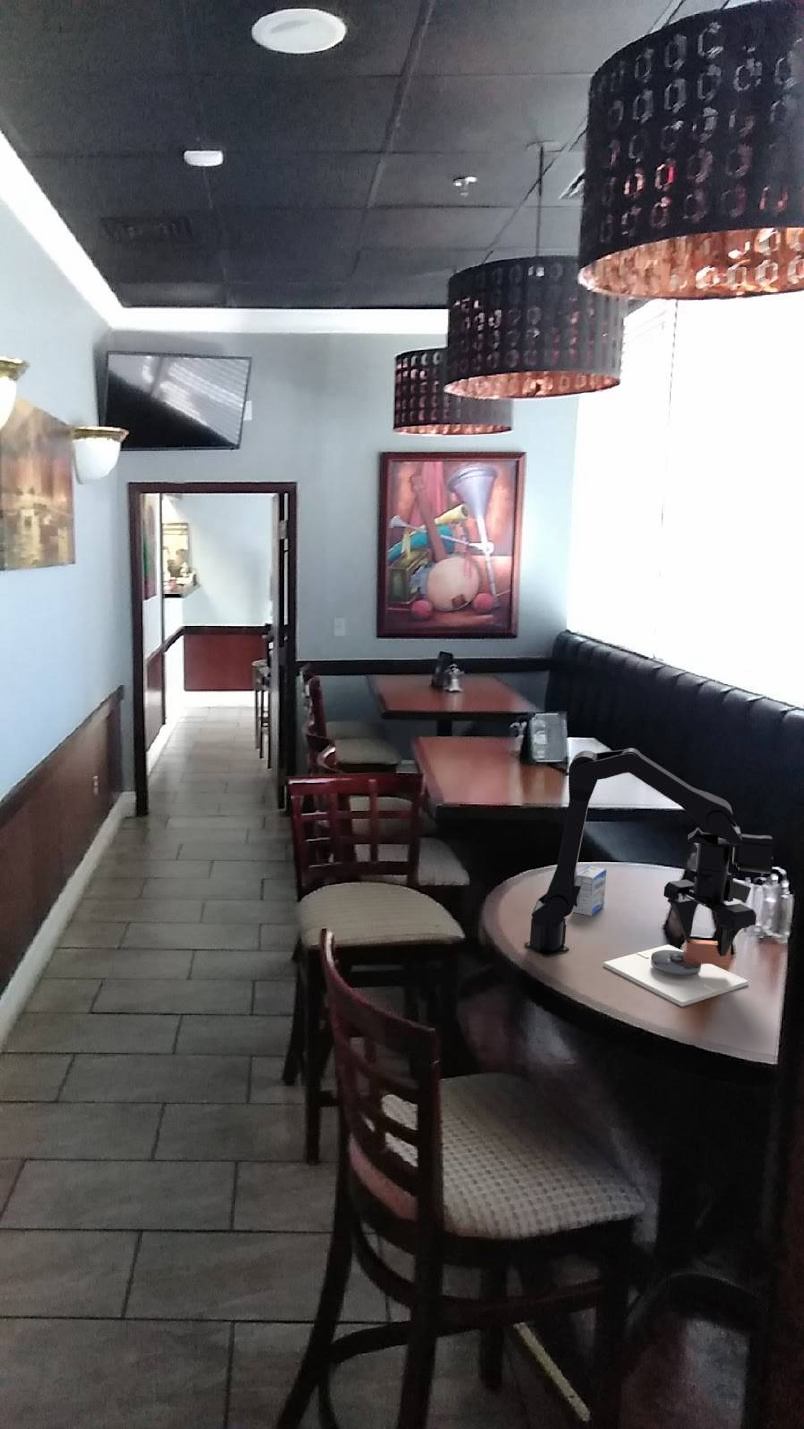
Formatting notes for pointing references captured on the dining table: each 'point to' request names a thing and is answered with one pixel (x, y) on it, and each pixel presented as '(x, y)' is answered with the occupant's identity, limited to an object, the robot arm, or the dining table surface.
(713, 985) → the wheel board
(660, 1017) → the dining table surface
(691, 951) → the handwheel
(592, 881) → the medicine box
